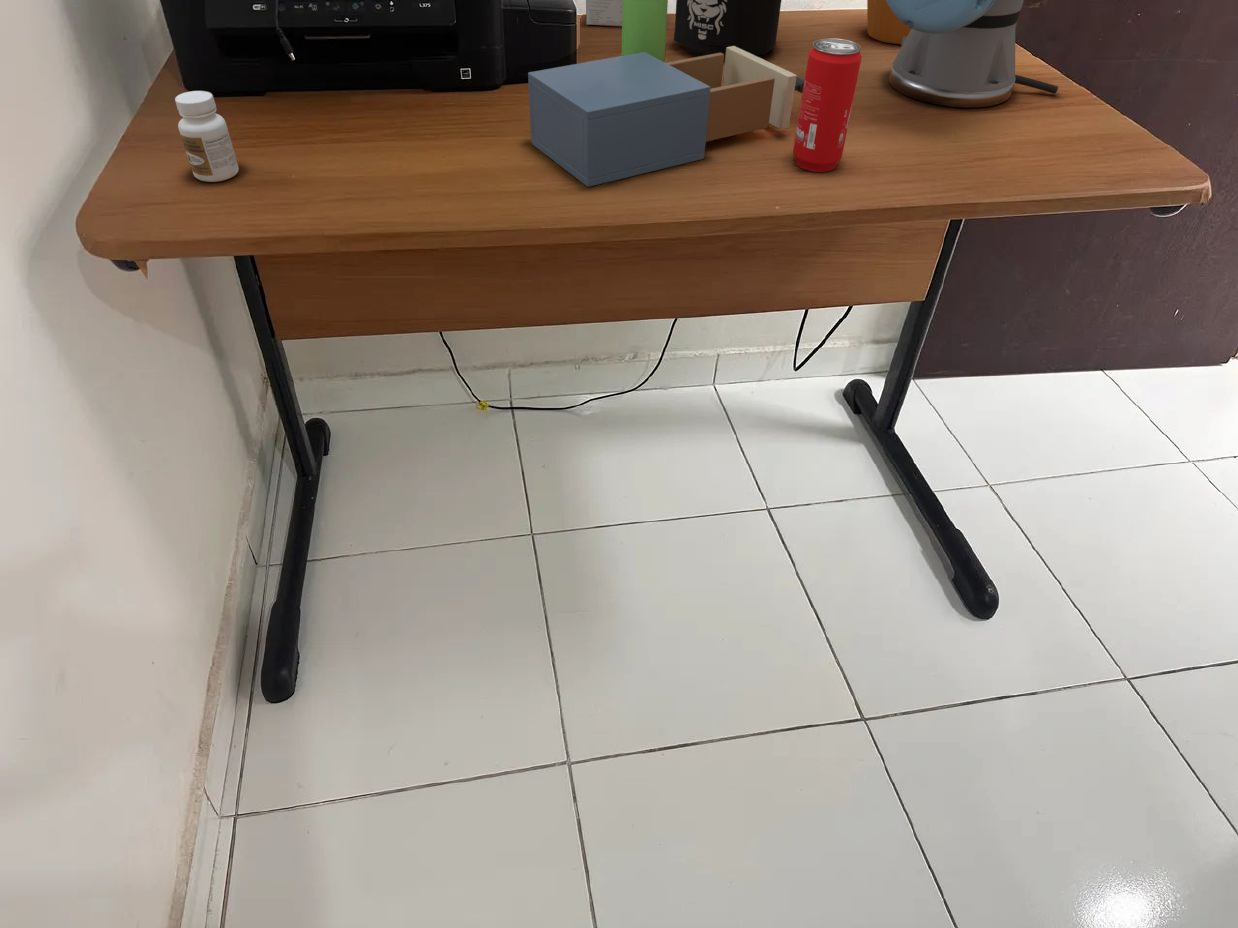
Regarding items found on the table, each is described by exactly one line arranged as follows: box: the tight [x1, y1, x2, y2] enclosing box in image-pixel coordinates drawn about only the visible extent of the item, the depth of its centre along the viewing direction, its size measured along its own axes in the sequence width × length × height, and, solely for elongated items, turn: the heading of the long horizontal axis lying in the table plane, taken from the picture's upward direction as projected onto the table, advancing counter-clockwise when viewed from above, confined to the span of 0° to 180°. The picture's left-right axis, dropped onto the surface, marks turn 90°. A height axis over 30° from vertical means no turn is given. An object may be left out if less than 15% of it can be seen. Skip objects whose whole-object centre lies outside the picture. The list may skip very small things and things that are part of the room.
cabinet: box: [527, 52, 710, 188], centre depth 92 cm, size 15×13×8 cm
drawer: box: [665, 46, 805, 143], centre depth 98 cm, size 18×11×6 cm, turn 121°
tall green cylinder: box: [620, 0, 669, 63], centre depth 102 cm, size 5×5×15 cm
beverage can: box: [792, 37, 862, 173], centre depth 89 cm, size 5×5×12 cm
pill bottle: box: [174, 90, 240, 183], centre depth 86 cm, size 4×4×8 cm
